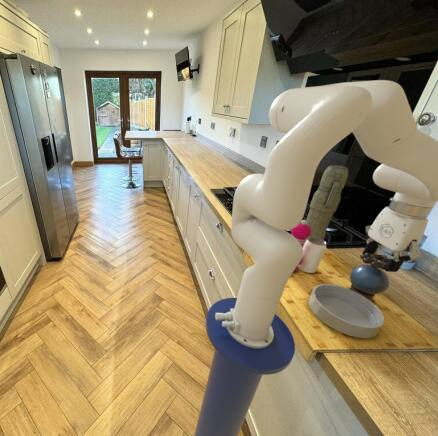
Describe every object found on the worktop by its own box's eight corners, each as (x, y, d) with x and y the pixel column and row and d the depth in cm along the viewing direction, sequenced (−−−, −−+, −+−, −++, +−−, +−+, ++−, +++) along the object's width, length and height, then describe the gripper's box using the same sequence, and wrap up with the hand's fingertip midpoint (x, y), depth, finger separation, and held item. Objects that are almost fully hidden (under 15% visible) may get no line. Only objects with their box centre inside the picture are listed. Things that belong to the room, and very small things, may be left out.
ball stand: (356, 306, 72) (373, 277, 67) (335, 286, 80) (349, 258, 75) (385, 307, 72) (404, 278, 67) (361, 287, 80) (377, 259, 75)
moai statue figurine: (300, 250, 100) (331, 168, 85) (293, 236, 110) (319, 162, 95) (324, 254, 98) (360, 171, 82) (314, 240, 108) (345, 164, 93)
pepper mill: (273, 261, 92) (288, 215, 83) (292, 262, 92) (309, 216, 83) (282, 273, 86) (299, 224, 77) (302, 274, 85) (322, 225, 77)
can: (294, 267, 89) (304, 240, 83) (298, 260, 93) (309, 234, 88) (313, 276, 85) (325, 248, 79) (317, 268, 89) (329, 241, 83)
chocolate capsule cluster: (372, 270, 67) (375, 265, 66) (353, 255, 74) (355, 251, 73) (404, 271, 67) (408, 266, 66) (382, 257, 74) (385, 252, 73)
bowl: (331, 338, 62) (338, 326, 60) (297, 293, 76) (301, 283, 74) (393, 340, 62) (401, 328, 60) (347, 295, 76) (352, 284, 74)
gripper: (367, 196, 70) (344, 246, 78) (429, 222, 55) (392, 282, 62) (392, 197, 70) (366, 247, 78) (461, 223, 55) (420, 283, 62)
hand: (378, 262), depth 70 cm, fingers closed on chocolate capsule cluster, 7 cm apart
